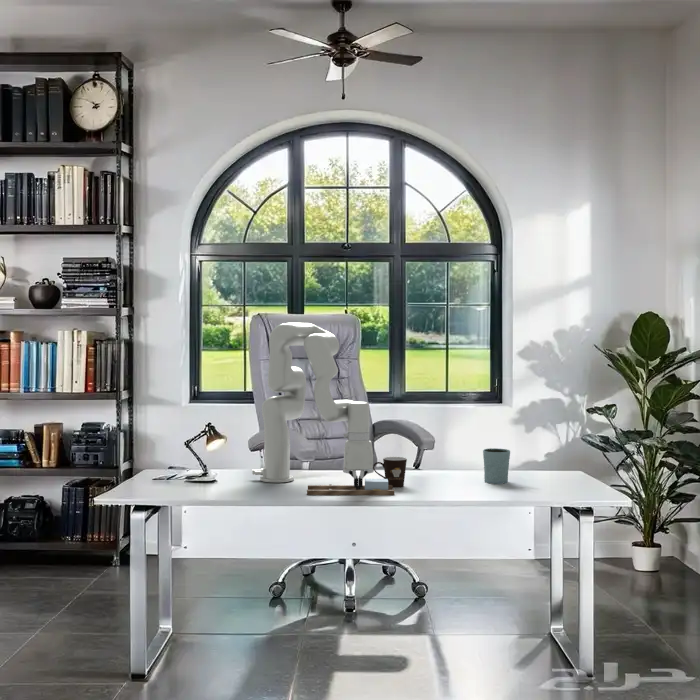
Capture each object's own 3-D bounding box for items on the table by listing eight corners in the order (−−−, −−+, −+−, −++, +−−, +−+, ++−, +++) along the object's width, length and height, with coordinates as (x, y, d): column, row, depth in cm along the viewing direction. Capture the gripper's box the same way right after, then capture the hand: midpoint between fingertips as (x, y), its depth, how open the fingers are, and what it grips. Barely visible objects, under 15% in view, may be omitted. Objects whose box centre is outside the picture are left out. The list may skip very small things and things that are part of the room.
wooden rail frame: (306, 494, 310) (307, 489, 310) (307, 489, 321) (307, 484, 321) (394, 495, 311) (394, 489, 311) (392, 489, 321) (392, 484, 321)
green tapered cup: (500, 479, 344) (500, 447, 344) (515, 483, 335) (515, 451, 335) (477, 480, 340) (477, 449, 340) (492, 485, 331) (492, 452, 331)
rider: (365, 494, 313) (365, 481, 312) (364, 491, 319) (364, 478, 318) (388, 494, 313) (388, 481, 312) (387, 491, 319) (387, 478, 318)
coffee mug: (409, 484, 331) (409, 457, 331) (403, 488, 323) (403, 460, 323) (379, 482, 335) (379, 455, 335) (371, 486, 327) (372, 459, 327)
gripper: (337, 438, 311) (336, 491, 312) (380, 438, 312) (380, 491, 312) (337, 435, 319) (336, 487, 319) (379, 435, 319) (379, 487, 320)
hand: (358, 489), depth 316 cm, fingers closed
